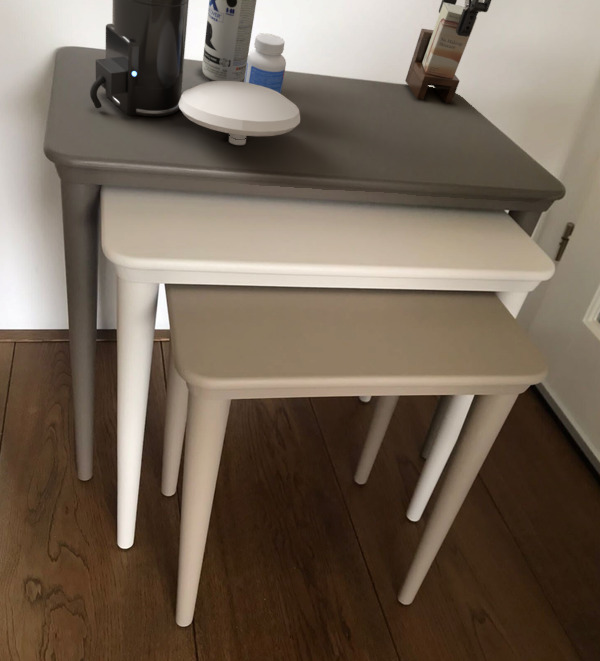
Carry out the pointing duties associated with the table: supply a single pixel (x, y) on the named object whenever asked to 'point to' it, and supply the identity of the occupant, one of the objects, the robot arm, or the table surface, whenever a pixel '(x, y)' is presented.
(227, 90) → the white domed disc
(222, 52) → the spray can
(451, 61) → the cream cosmetic box
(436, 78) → the miniature wooden chair
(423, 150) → the table surface
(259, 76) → the pill bottle
